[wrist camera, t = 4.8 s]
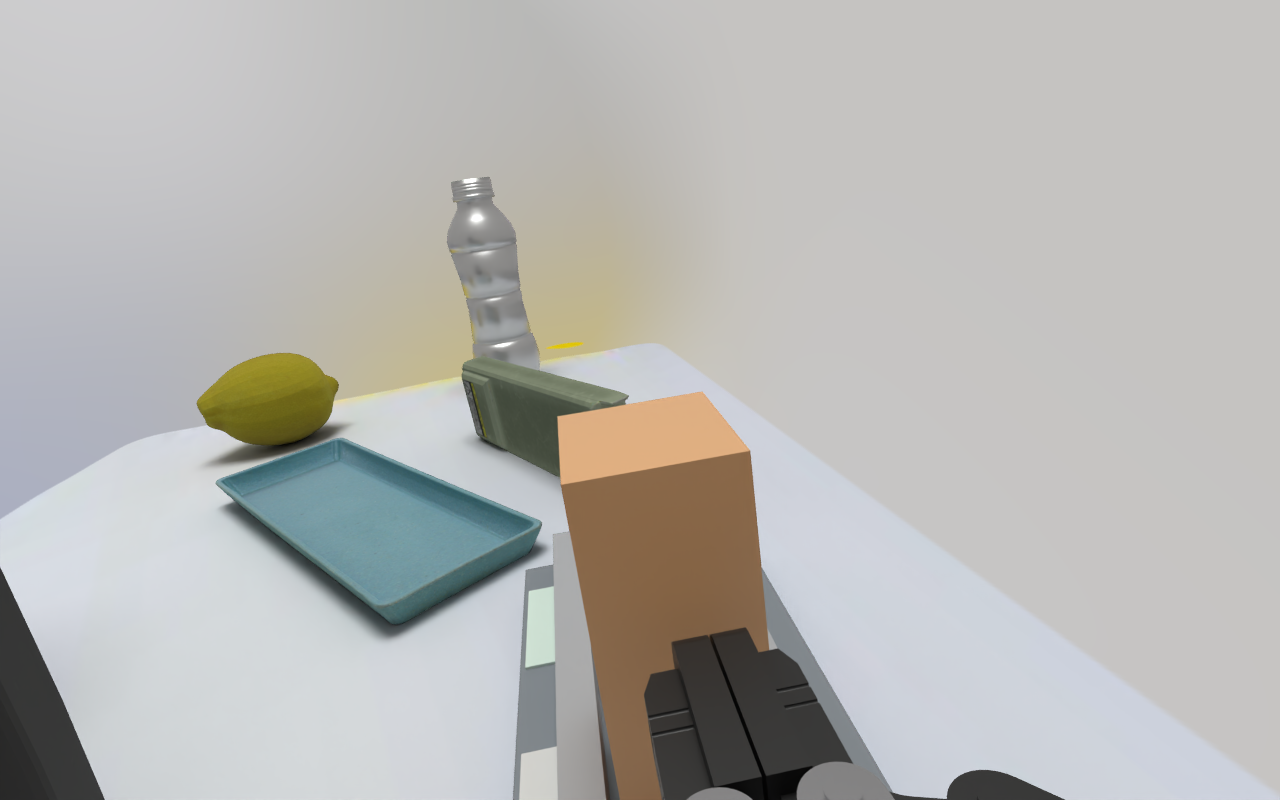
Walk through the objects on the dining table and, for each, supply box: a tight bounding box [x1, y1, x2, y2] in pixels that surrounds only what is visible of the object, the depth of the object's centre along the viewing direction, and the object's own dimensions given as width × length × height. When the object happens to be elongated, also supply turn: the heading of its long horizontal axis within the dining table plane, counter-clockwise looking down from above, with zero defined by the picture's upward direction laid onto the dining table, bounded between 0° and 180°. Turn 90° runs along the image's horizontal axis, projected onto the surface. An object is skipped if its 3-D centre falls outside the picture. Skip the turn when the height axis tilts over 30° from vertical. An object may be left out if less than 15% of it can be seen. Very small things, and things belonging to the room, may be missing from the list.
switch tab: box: [557, 392, 769, 800], centre depth 17 cm, size 5×4×10 cm
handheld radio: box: [462, 356, 629, 477], centre depth 45 cm, size 7×3×25 cm
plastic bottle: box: [447, 177, 540, 370], centre depth 67 cm, size 6×7×20 cm
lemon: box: [197, 353, 339, 445], centre depth 60 cm, size 11×8×8 cm
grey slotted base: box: [513, 531, 893, 800], centre depth 23 cm, size 18×10×3 cm, turn 8°
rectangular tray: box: [216, 438, 542, 624], centre depth 42 cm, size 26×9×2 cm, turn 46°
